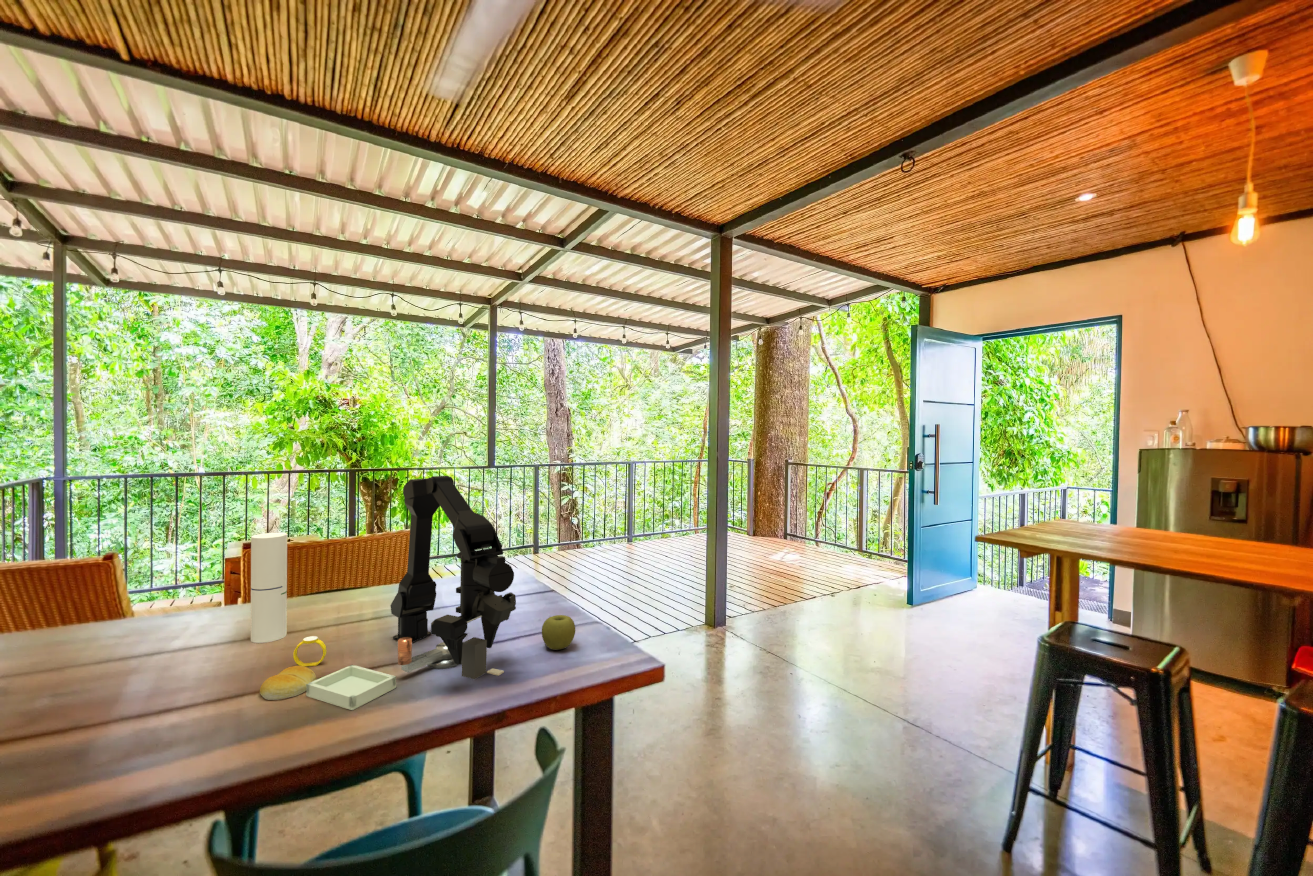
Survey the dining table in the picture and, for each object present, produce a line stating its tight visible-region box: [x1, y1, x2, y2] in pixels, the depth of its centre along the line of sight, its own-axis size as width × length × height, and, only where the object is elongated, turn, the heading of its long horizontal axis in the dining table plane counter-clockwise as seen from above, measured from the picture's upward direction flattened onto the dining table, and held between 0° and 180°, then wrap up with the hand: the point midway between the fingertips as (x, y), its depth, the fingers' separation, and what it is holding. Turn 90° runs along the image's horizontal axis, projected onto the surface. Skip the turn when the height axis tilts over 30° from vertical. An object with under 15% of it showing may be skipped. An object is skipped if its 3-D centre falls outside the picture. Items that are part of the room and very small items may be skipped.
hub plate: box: [427, 658, 462, 670], centre depth 121 cm, size 8×8×1 cm
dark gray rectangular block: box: [461, 637, 488, 680], centre depth 114 cm, size 4×4×7 cm
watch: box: [292, 635, 328, 667], centre depth 118 cm, size 6×3×6 cm, turn 106°
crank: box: [397, 637, 452, 673], centre depth 117 cm, size 14×4×7 cm, turn 147°
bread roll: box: [259, 665, 317, 701], centre depth 106 cm, size 8×9×4 cm
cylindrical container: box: [250, 532, 288, 644], centre depth 132 cm, size 7×7×25 cm
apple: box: [541, 614, 576, 651], centre depth 129 cm, size 8×8×7 cm
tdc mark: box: [486, 667, 505, 677], centre depth 115 cm, size 3×2×1 cm, turn 67°
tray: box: [305, 664, 397, 711], centre depth 106 cm, size 10×13×2 cm
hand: (474, 655), depth 114 cm, fingers open, 9 cm apart
